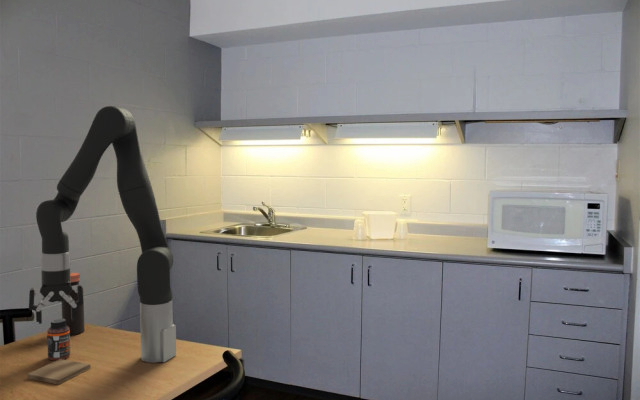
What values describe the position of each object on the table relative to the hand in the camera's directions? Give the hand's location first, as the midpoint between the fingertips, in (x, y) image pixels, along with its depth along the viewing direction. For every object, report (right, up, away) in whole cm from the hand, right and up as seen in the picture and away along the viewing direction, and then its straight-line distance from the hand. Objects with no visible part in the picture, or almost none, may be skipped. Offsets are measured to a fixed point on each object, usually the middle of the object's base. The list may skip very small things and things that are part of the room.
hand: (56, 321), depth 153 cm
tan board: (+6, -12, -10) cm, 17 cm away
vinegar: (-6, -9, +23) cm, 25 cm away
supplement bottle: (0, -11, +1) cm, 11 cm away
